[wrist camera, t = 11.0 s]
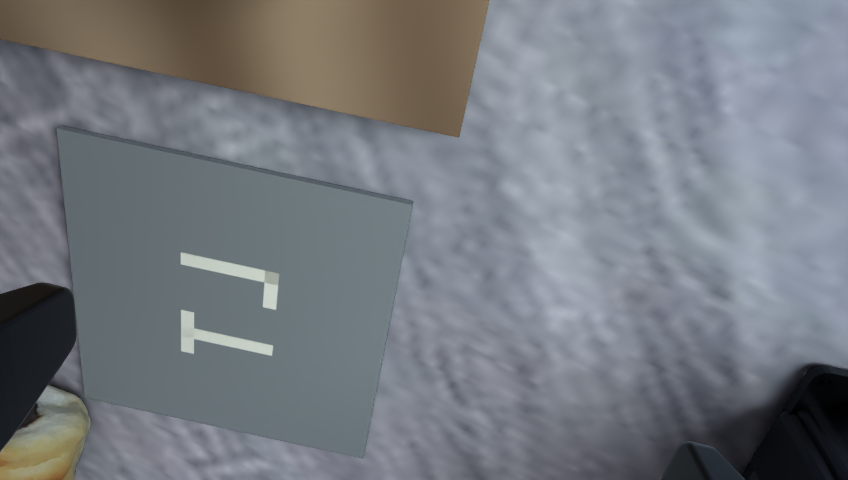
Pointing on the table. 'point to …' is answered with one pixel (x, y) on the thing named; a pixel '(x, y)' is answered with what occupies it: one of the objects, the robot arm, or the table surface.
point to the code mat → (229, 290)
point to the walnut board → (281, 48)
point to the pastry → (47, 439)
